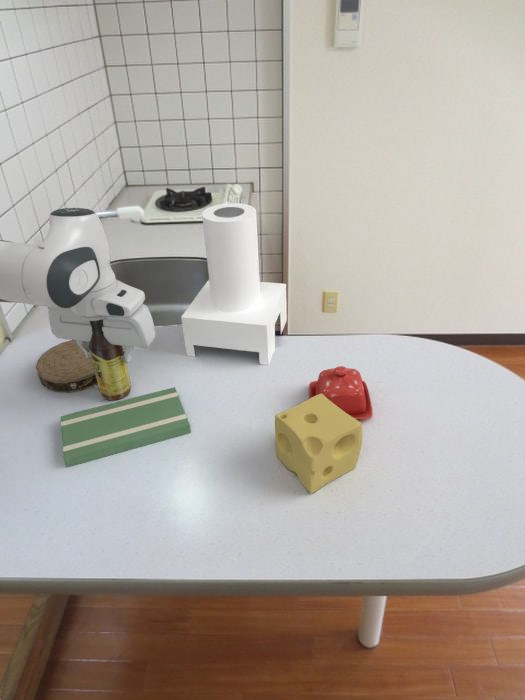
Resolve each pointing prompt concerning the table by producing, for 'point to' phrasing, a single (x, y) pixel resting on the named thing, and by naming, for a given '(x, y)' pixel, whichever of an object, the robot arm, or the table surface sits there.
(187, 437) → the table surface
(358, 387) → the butter dish
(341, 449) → the cheese
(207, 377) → the table surface
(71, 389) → the wooden log slice
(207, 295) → the paper towel holder
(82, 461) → the towel
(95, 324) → the sauce bottle
